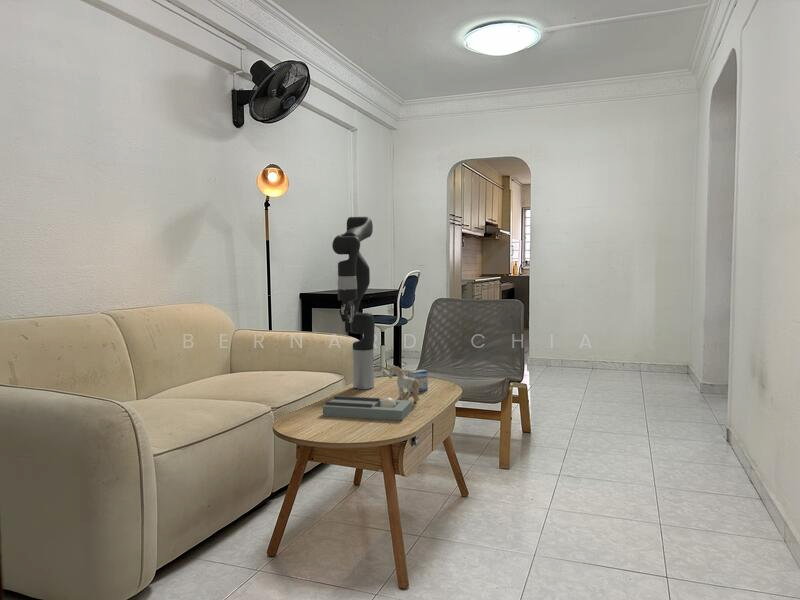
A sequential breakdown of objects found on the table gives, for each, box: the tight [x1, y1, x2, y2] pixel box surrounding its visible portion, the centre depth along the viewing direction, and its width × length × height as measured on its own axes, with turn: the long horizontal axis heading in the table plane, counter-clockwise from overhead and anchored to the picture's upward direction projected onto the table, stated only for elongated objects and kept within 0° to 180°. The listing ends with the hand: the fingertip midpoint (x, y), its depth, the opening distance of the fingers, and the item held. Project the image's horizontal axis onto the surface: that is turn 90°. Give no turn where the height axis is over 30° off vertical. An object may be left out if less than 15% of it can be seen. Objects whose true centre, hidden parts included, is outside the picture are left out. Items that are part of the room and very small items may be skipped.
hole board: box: [322, 395, 413, 421], centre depth 217 cm, size 15×30×4 cm, turn 75°
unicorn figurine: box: [379, 365, 420, 403], centre depth 235 cm, size 7×20×13 cm, turn 52°
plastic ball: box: [380, 397, 396, 408], centre depth 215 cm, size 6×6×6 cm
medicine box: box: [407, 369, 429, 393], centre depth 252 cm, size 8×4×9 cm, turn 129°
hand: (348, 332), depth 228 cm, fingers closed
